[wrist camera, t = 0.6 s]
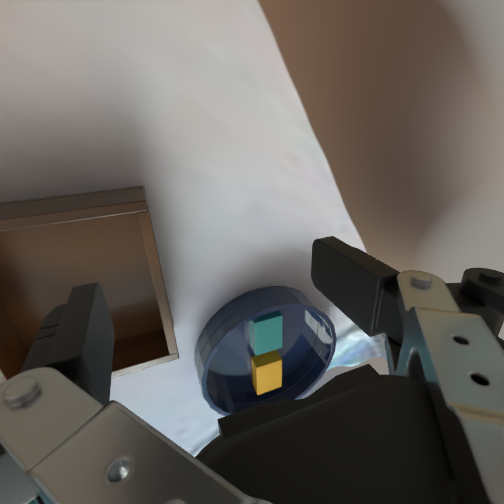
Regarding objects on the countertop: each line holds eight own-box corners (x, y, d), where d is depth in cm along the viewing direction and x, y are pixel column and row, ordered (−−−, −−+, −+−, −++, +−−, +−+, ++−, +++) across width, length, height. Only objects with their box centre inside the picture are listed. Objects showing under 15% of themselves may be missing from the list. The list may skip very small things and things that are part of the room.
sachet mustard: (250, 356, 37) (256, 368, 35) (275, 348, 38) (282, 359, 37) (252, 383, 39) (257, 395, 38) (275, 375, 40) (281, 386, 39)
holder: (-58, 209, 21) (-101, 233, 17) (143, 185, 25) (146, 199, 21) (27, 366, 28) (11, 408, 24) (173, 328, 32) (179, 358, 28)
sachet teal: (248, 312, 34) (254, 323, 32) (275, 305, 35) (282, 315, 33) (249, 344, 36) (255, 356, 35) (275, 336, 37) (282, 347, 36)
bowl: (185, 306, 31) (191, 329, 28) (324, 272, 36) (342, 288, 33) (203, 410, 39) (210, 437, 36) (315, 370, 44) (330, 390, 41)
